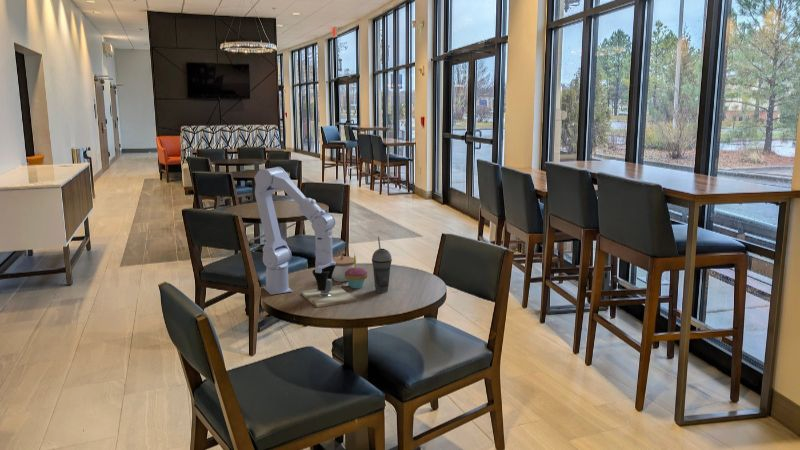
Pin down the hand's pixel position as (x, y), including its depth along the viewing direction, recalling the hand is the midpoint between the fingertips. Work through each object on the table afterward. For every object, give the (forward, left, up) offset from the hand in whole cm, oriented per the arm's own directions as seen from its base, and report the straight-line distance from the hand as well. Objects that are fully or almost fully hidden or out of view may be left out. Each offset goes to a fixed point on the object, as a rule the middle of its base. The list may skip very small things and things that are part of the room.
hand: (324, 287), depth 203 cm
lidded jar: (-18, +14, -4) cm, 23 cm away
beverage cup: (+2, +21, -4) cm, 22 cm away
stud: (0, 0, -4) cm, 4 cm away
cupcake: (-7, +15, -4) cm, 17 cm away
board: (+1, +1, -4) cm, 4 cm away
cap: (0, 0, -1) cm, 1 cm away
